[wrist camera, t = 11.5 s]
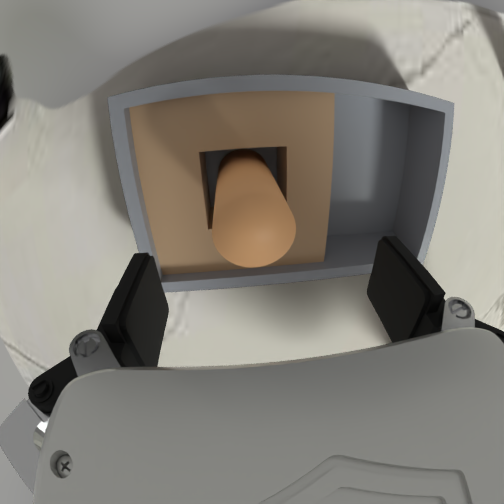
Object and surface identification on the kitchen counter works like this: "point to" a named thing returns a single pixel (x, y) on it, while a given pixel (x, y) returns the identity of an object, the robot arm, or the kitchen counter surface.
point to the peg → (250, 212)
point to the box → (281, 171)
